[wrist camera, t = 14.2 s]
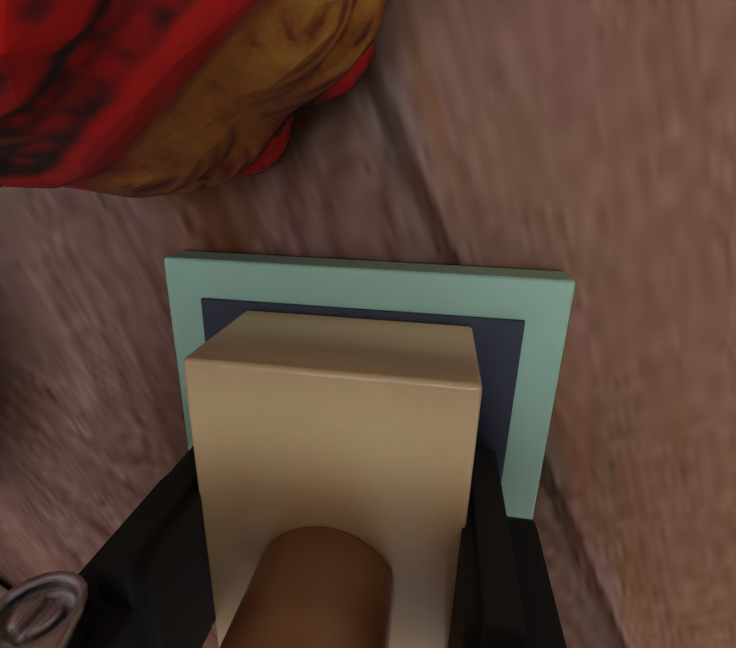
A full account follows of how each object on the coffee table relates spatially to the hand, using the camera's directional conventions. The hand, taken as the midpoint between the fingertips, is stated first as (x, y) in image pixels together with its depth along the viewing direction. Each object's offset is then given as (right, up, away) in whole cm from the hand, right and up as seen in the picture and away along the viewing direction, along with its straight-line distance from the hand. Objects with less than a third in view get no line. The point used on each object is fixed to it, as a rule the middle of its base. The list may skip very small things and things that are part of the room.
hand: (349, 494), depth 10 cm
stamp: (0, 0, 0) cm, 0 cm away
